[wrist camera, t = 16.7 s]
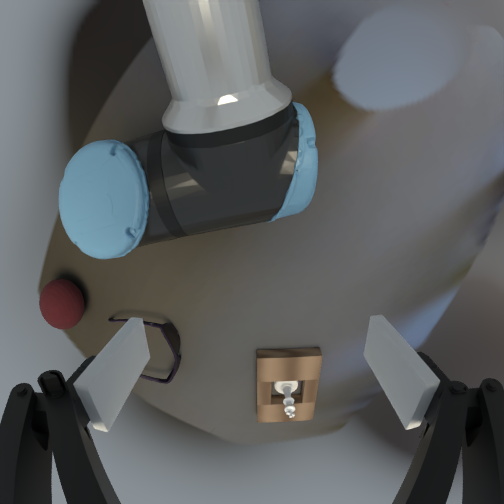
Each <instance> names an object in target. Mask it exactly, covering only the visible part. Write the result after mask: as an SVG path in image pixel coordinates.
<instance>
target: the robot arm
mask: <svg viewBox="0 0 504 504" xmlns="http://www.w3.org/2000/svg"><path fill="white" fill-rule="evenodd" d="M143 3H144V7H145V10H146V13H147V17H148V21H149V24H150V27H151V31H152V34H153V37H154V41H155V44H156V47H157V51H158V54H159V57H160V60H161V63H162V67H163V70H164V73H165V76H166V79H167V82H168V85H169V89H170V92H171V95H172V100H171V102H170V104H169V106H168V107H167V109H166V111H165V113H164V115H163V117H162V123H163V127H164V129H165V130H163V131H159V132H156V133H153V134H150V135H147V136H143V137H140V138H138V139H135V140H132V141H129V142H125V143H122V142H120V141H117V140H103V141H95V142H92V143H90V144H88V145H86V146H84V147H83V148H81V149H80V150H79V151H78V152H77V153H76V154H75V155H74V156H73V157H72V159H71V160H70V162H69V163H68V165H67V167H66V169H65V176H64V178H63V180H62V181H61V183H60V189H59V210H60V216H61V220H62V223H63V226H64V228H65V230H66V233H67V234H68V236H69V238H70V239H71V240H72V242H73V243H74V244H76V245H77V246H78V247H79V248H80V250H81V251H82V252H84V253H85V254H87V255H89V256H91V257H94V258H99V259H110V258H117V257H122V256H125V255H126V254H127V253H129V252H131V250H132V249H134V248H137V247H140V246H144V245H148V244H152V243H157V242H161V241H167V240H173V239H176V238H179V237H184V236H188V235H195V234H201V233H206V232H211V231H217V230H222V229H227V228H233V227H238V226H244V225H250V224H255V223H261V222H270V221H274V220H276V219H278V218H281V217H285V216H289V215H293V214H297V213H299V212H301V211H303V210H304V209H305V208H306V207H307V206H308V205H309V203H310V201H311V199H312V197H313V195H314V191H315V187H316V182H317V173H318V151H317V148H316V147H315V138H316V135H315V129H314V125H313V122H312V119H311V116H310V114H309V112H308V110H307V109H306V108H305V107H304V106H303V105H302V104H299V103H296V102H293V101H292V94H291V91H290V89H289V88H288V87H286V86H285V85H283V84H282V83H281V82H279V81H278V80H276V79H275V78H274V77H273V76H272V75H271V71H270V65H269V59H268V52H267V46H266V40H265V35H264V29H263V23H262V18H261V12H260V7H259V2H258V0H143ZM363 356H364V357H365V359H366V361H367V362H368V364H369V366H370V367H371V369H372V371H373V373H374V374H375V376H376V378H377V379H378V381H379V383H380V385H381V386H382V388H383V390H384V391H385V393H386V395H387V397H388V399H389V400H390V402H391V404H392V406H393V407H394V409H395V411H396V413H397V414H398V416H399V418H400V420H401V422H402V423H403V425H404V427H405V429H406V430H407V429H411V428H414V427H417V426H420V424H421V422H422V420H423V418H424V417H425V419H426V420H427V424H426V426H425V428H424V430H423V431H422V433H421V435H420V438H421V440H420V443H419V445H418V448H417V451H416V453H415V456H414V458H413V461H412V463H411V465H410V468H409V470H408V472H407V475H406V477H405V479H404V481H403V483H402V485H401V487H400V489H399V491H398V494H397V495H396V497H395V499H394V502H393V503H392V504H446V501H447V498H448V495H449V492H450V489H451V486H452V482H453V479H454V475H455V472H456V468H457V464H458V459H459V455H460V451H461V446H462V459H463V499H462V504H504V389H503V386H502V385H501V383H500V382H499V381H497V380H495V379H491V378H488V379H485V380H483V381H482V383H481V385H480V387H479V388H472V389H468V387H467V386H466V385H465V384H464V383H462V382H459V381H450V380H449V379H448V378H447V376H446V375H445V374H444V373H443V372H442V371H441V370H440V369H439V367H437V365H436V364H435V363H433V361H432V360H431V359H430V357H429V356H427V355H425V354H424V353H422V352H417V353H416V352H415V351H414V350H413V348H412V347H411V346H410V345H409V344H408V343H407V342H406V341H405V339H404V338H403V337H402V336H401V335H400V334H399V333H398V332H397V331H396V330H395V328H394V327H393V326H392V325H391V324H390V323H389V322H388V321H387V320H386V319H385V318H384V316H383V315H375V316H370V322H369V328H368V334H367V339H366V345H365V350H364V354H363ZM149 359H150V354H149V349H148V345H147V340H146V335H145V330H144V324H143V319H142V318H133V317H131V318H130V319H129V320H128V321H127V322H126V323H125V324H124V326H123V327H122V328H121V329H120V330H119V331H118V332H117V333H116V335H115V336H114V337H113V338H112V339H111V340H110V341H109V343H108V344H107V345H106V346H105V347H104V348H103V349H102V351H101V352H100V353H99V354H98V355H97V356H91V357H89V358H88V359H86V360H85V361H84V362H83V363H82V364H81V366H80V367H79V368H78V369H77V370H76V371H75V372H74V373H73V374H72V376H71V377H70V378H69V379H68V380H67V381H66V382H65V379H64V377H63V375H62V373H61V372H60V371H57V370H49V371H46V372H44V373H42V374H41V375H40V376H39V377H38V384H39V386H40V387H41V390H42V392H43V393H37V392H34V390H33V388H32V387H31V385H30V384H27V383H21V384H18V385H16V386H15V387H14V388H13V389H12V391H11V393H10V396H9V399H8V402H7V404H6V407H5V410H4V414H3V417H2V420H1V423H0V504H52V494H51V473H52V471H51V470H52V452H53V455H54V459H55V463H56V467H57V471H58V475H59V479H60V482H61V485H62V489H63V492H64V495H65V498H66V501H67V504H121V503H120V501H119V499H118V497H117V495H116V493H115V491H114V489H113V487H112V485H111V483H110V481H109V479H108V477H107V474H106V472H105V470H104V468H103V465H102V463H101V460H100V458H99V455H98V453H97V450H96V448H95V445H94V442H93V439H92V437H91V434H90V431H89V429H88V427H87V424H88V423H89V421H91V423H92V425H93V426H94V428H95V429H98V430H102V431H106V432H109V430H110V428H111V426H112V424H113V422H114V421H115V419H116V417H117V415H118V413H119V411H120V410H121V408H122V406H123V404H124V402H125V401H126V399H127V397H128V395H129V393H130V392H131V390H132V388H133V387H134V385H135V383H136V381H137V380H138V378H139V376H140V374H141V373H142V371H143V369H144V367H145V366H146V364H147V362H148V360H149Z"/></svg>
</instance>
